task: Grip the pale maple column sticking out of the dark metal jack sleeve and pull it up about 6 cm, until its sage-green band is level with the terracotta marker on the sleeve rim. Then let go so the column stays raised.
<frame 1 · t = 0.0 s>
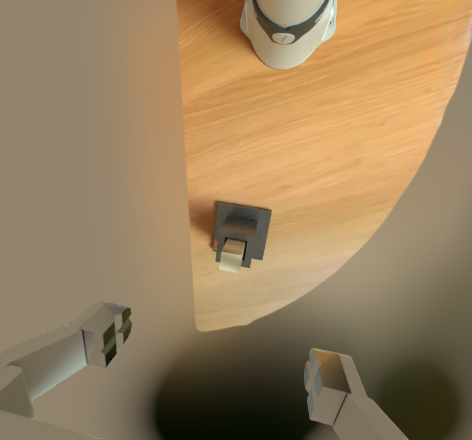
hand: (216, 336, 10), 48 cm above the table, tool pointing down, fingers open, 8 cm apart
jack sleeve: (241, 230, 60), on the table
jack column: (236, 245, 51), point 10 cm above the table, slide at 0.0 cm
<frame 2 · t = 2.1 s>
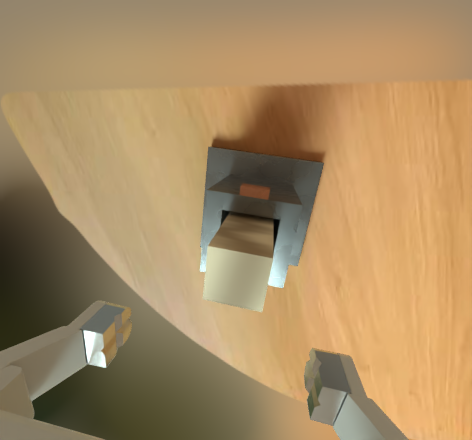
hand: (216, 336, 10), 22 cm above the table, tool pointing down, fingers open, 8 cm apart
jack sleeve: (256, 207, 30), on the table
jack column: (249, 232, 21), point 9 cm above the table, slide at 0.0 cm
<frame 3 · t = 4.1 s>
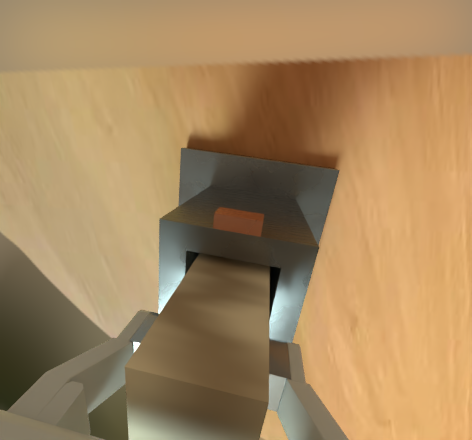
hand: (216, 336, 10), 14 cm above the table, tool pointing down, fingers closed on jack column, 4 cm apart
jack sleeve: (247, 226, 23), on the table
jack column: (233, 278, 14), point 10 cm above the table, slide at 0.0 cm, touching gripper
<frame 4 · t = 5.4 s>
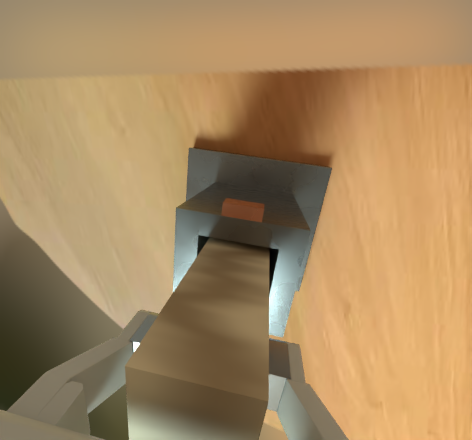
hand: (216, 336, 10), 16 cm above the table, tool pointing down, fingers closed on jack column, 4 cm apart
jack sleeve: (248, 220, 25), on the table
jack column: (232, 278, 14), point 12 cm above the table, slide at 2.2 cm, touching gripper
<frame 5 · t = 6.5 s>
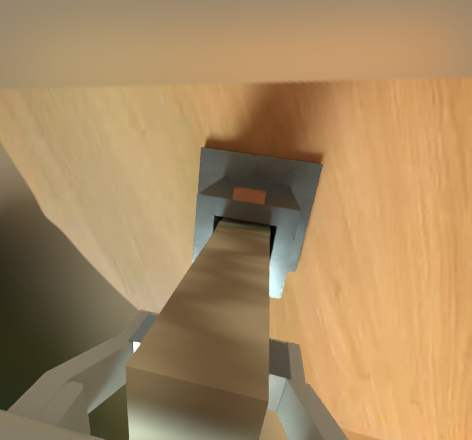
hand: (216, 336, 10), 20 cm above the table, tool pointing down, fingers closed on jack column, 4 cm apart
jack sleeve: (252, 210, 29), on the table
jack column: (232, 278, 14), point 16 cm above the table, slide at 6.2 cm, touching gripper
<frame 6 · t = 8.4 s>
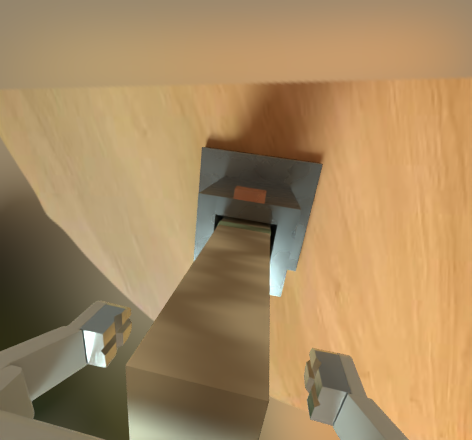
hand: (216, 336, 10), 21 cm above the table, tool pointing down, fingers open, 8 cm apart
jack sleeve: (252, 209, 29), on the table
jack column: (233, 277, 14), point 16 cm above the table, slide at 6.5 cm
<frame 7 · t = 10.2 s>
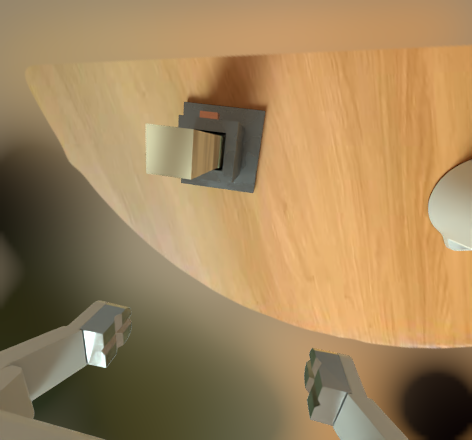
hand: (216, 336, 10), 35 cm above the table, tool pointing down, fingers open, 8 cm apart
jack sleeve: (221, 149, 41), on the table
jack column: (196, 150, 26), point 16 cm above the table, slide at 6.5 cm
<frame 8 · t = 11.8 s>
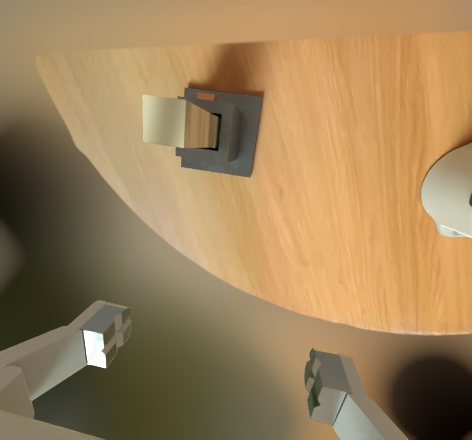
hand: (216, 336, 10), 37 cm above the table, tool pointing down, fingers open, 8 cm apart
jack sleeve: (220, 134, 42), on the table
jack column: (192, 128, 27), point 16 cm above the table, slide at 6.5 cm
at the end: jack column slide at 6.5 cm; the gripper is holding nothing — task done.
